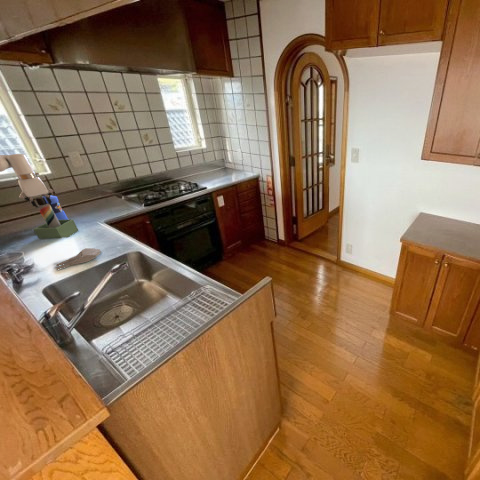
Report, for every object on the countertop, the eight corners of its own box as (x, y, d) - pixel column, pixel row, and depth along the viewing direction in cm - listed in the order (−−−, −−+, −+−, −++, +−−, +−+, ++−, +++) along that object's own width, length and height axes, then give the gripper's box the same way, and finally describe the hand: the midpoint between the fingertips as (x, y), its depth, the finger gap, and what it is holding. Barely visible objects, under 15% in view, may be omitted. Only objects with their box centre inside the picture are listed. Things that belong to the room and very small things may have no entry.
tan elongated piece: (59, 267, 142) (53, 261, 139) (101, 249, 152) (96, 243, 149) (60, 275, 135) (53, 268, 133) (104, 256, 146) (98, 249, 143)
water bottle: (50, 227, 183) (30, 192, 171) (55, 221, 191) (37, 188, 179) (66, 224, 187) (48, 190, 175) (71, 219, 194) (54, 186, 182)
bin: (62, 240, 165) (56, 228, 161) (40, 241, 165) (33, 229, 161) (78, 230, 177) (72, 219, 173) (57, 231, 177) (51, 220, 173)
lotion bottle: (48, 227, 167) (31, 197, 158) (59, 224, 171) (43, 195, 162) (50, 229, 164) (33, 199, 155) (62, 226, 169) (46, 196, 159)
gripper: (45, 172, 160) (59, 200, 169) (4, 178, 148) (22, 208, 157) (48, 174, 156) (63, 202, 165) (7, 180, 144) (25, 211, 153)
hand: (43, 205), depth 161 cm, fingers closed on lotion bottle, 5 cm apart
